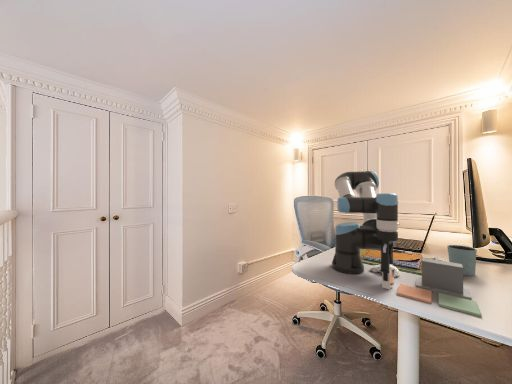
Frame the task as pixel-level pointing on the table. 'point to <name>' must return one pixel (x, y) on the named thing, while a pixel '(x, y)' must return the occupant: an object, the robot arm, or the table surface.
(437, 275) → the block
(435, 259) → the electrical switch
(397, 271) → the car
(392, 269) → the milkshake
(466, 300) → the pad sage
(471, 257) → the teal cup
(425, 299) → the pad terracotta
